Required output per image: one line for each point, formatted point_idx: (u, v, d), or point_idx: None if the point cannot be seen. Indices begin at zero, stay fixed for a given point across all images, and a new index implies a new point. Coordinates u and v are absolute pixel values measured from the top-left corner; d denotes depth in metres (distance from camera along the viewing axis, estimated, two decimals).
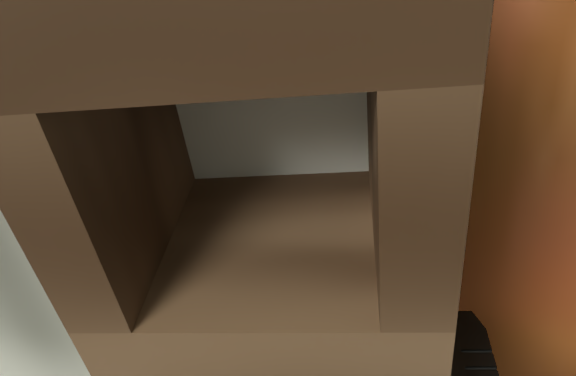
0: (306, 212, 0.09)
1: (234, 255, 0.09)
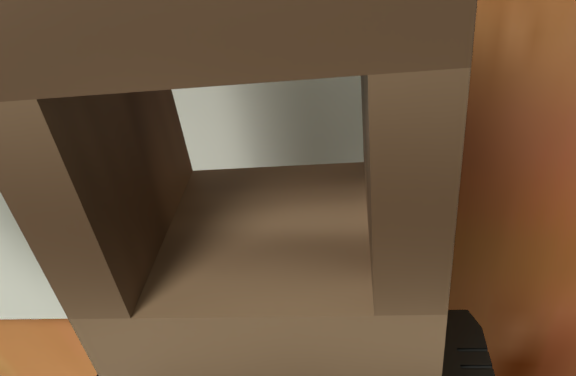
0: (302, 202, 0.10)
1: (231, 243, 0.09)
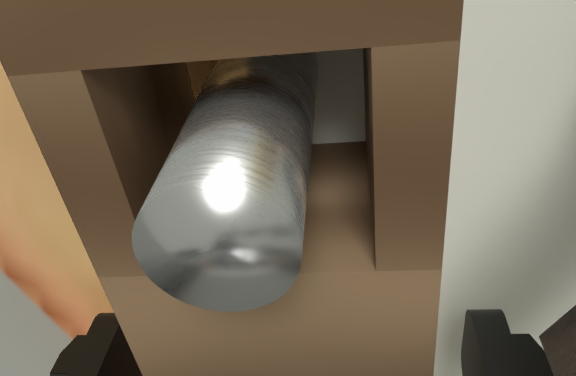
0: (309, 176, 0.10)
1: None
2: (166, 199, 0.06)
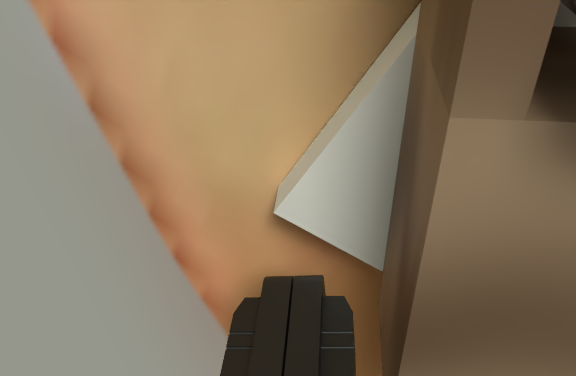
0: None
1: None
2: None
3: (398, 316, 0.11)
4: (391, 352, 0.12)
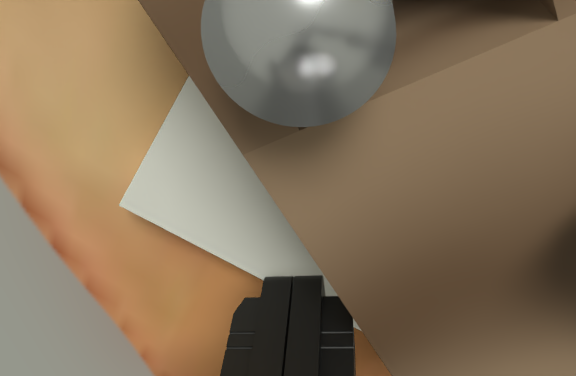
0: (437, 0, 0.09)
1: None
2: None
3: None
4: None
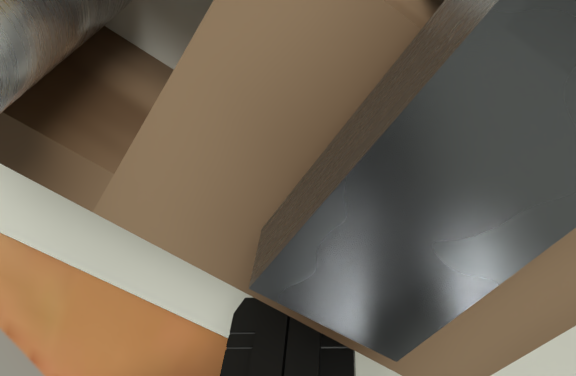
0: None
1: None
2: None
3: None
4: None
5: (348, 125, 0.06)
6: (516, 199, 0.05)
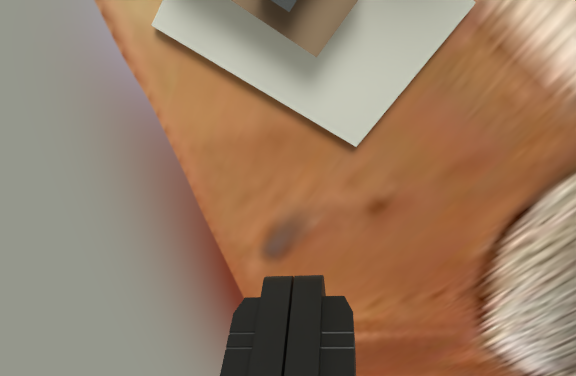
0: None
1: None
2: None
3: None
4: None
5: None
6: None
